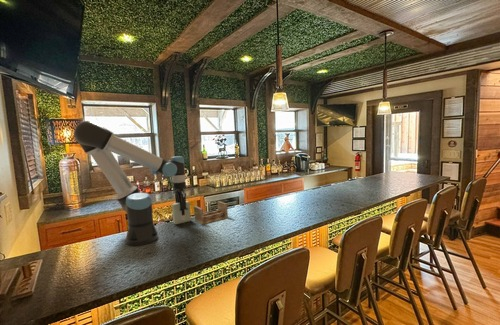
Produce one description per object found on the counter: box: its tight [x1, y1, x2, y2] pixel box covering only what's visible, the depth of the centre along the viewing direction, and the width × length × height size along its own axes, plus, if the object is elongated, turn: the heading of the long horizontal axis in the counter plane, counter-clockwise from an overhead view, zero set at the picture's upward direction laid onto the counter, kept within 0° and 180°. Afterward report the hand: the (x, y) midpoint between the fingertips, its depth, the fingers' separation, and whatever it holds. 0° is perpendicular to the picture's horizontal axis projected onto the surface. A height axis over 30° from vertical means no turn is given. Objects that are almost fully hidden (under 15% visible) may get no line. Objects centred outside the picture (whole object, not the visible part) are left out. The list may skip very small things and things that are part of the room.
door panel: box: [171, 200, 192, 225], centre depth 153 cm, size 10×4×12 cm, turn 126°
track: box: [193, 200, 229, 225], centre depth 156 cm, size 18×10×9 cm, turn 126°
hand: (181, 219), depth 154 cm, fingers closed on door panel, 3 cm apart
